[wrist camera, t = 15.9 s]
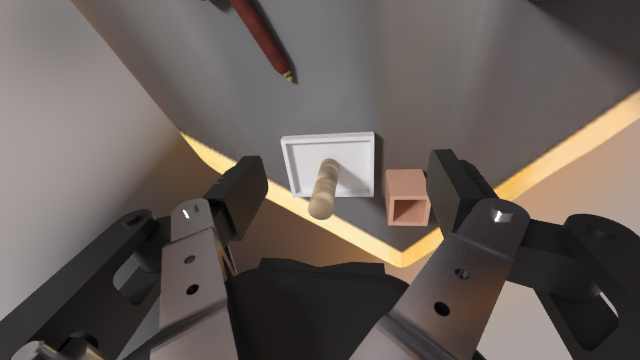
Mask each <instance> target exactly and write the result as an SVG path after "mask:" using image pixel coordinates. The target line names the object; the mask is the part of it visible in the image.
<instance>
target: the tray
mask: <svg viewBox="0 0 640 360" xmlns="http://www.w3.org/2000/svg"><path fill="white" fill-rule="evenodd" d="M281 145H282V149H283V154H284V158H285V163H286V168H287V172H288V177H289V181H290V186H291V191H292V195H293V197H311V196H312V193H313V189H314V186H315V182H316V179H317V175H318V172H319V168H320V165H321V162H322V161H323V160H325V159H334V160H335V161H337V162H338V164H339V173H338V179H337V186H336V192H335V197H374V132H358V133H338V134H318V135H298V136H283V137H282V139H281Z"/></svg>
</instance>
